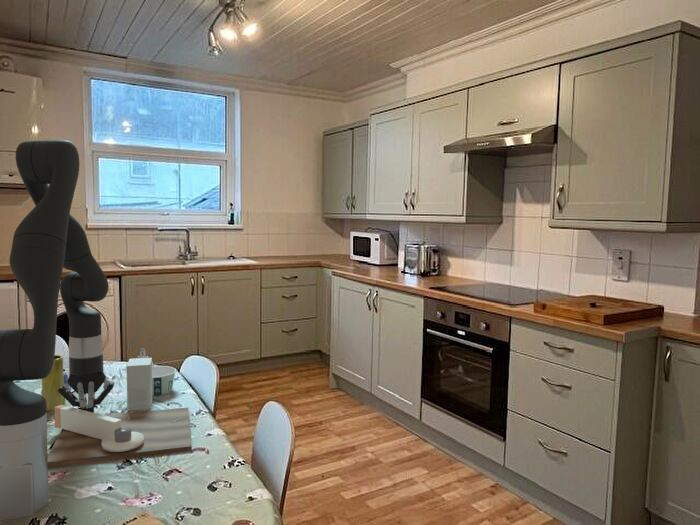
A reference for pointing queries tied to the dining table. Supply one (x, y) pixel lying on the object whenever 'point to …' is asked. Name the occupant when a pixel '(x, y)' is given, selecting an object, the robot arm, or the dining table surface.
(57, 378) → the vase
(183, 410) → the board
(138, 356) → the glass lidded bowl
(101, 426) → the white pivot lever
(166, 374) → the food container
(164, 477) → the dining table surface
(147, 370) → the small box
